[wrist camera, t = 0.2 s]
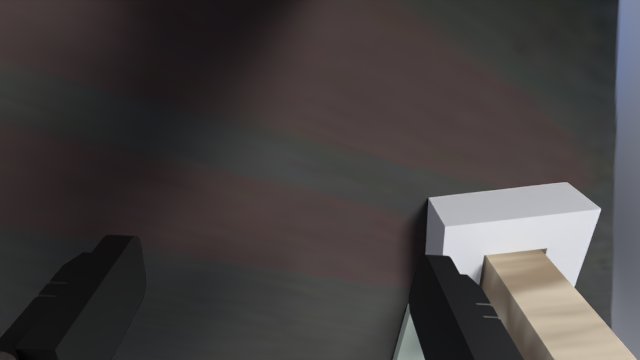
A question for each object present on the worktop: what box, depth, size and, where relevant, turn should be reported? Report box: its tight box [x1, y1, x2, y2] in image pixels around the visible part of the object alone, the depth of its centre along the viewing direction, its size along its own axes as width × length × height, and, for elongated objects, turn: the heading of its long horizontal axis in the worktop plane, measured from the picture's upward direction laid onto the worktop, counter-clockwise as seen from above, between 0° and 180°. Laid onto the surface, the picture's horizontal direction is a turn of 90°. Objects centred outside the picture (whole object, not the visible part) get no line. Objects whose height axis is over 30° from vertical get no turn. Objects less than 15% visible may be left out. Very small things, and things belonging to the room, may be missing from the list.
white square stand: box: [425, 182, 601, 287], centre depth 32 cm, size 12×12×4 cm
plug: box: [479, 249, 637, 360], centre depth 26 cm, size 5×5×17 cm
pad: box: [393, 304, 425, 360], centre depth 40 cm, size 12×12×1 cm
